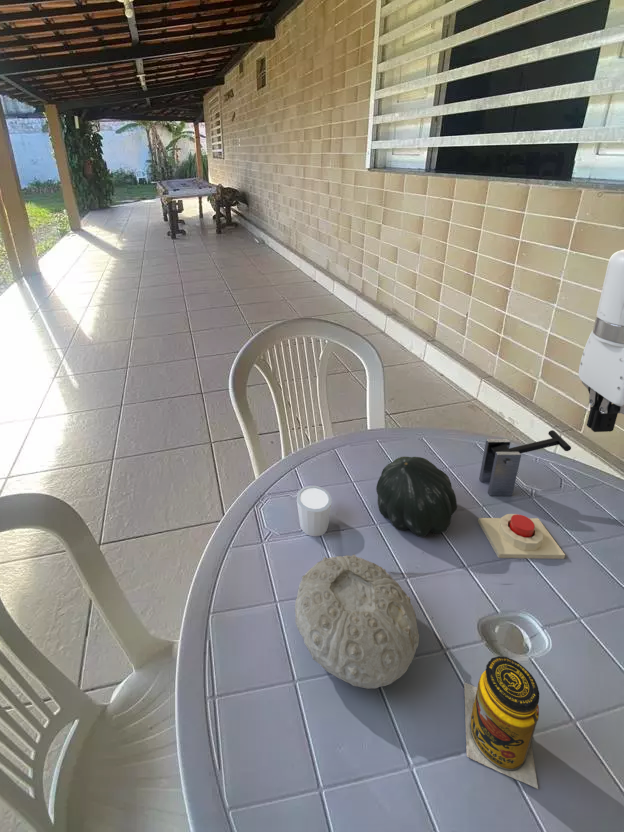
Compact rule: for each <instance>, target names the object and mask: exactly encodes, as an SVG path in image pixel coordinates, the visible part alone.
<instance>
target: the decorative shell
mask: <svg viewBox="0 0 624 832" xmlns="http://www.w3.org/2000/svg"><path fill="white" fill-rule="evenodd" d="M411 599H412V598H411V597H410V596H408V595H407V593H406V592H405V590H404V589H403V588H402V587H401V585H400V584H399V582H397V581H396V580H395V579H394V578H393V577H392V576H391V575H390V574H389V573H388V572H387V571H386V569H385V568H383V567H382V566H379V565H378V564H376V563H375V562H371V561H369V560H367V559H364V558H362V557H358V556H357V555H356V554H352V555H343V556H342V555H338V556H335V557H334V556H331V557H326V556H324V557H323V558H322V560H320V561H317V562H316V564H314V565H313V566H312V567H311V568H309V570H308V571H307V572H305V574H304V575H303V576H302V577H301V581H300V583H299V586H298V589H297V596H296V599H295V603H294V613H295V619H294V622H295V626H296V628H297V630H298V632H299V634H300V635H301V637H302V639H303V643H304V645H305V646H306V648H307V650H308V652H309V655H310V656H311V657H312V660H313V661H314V662H316V663H318V665H320V666H321V667H322V668H323V669H324V670H325V671H326V672H327V673H329V674H330V675H332V676H334V677H336V678H338V679H340V680H342V681H343V682H345V683H347V684H350V685H351V686H353V687H357V688H364V689H367V690H369V689H373V690H374V689H378V688H381V687H386V686H389V685H392V684H393V683H394V682H396V681H397V680H399V679H400V678H401V677H403V676H404V675H405V673H406V672H407V671H408V670H409V667H410V665H411V664H412V662H413V660H414V658H415V655H416V651H417V649H418V647H419V643H420V634H419V630H418V624H417V616H416V611H415V608H414V606H413V603H412V602H411Z"/></svg>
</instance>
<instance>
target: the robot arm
mask: <svg viewBox="0 0 624 832" xmlns="http://www.w3.org/2000/svg"><path fill="white" fill-rule="evenodd" d="M594 318H595V319H594V322H593V323H594V324H593V327H592V330H591V331H590V334H589V336H588V338H587V340H586V343H585V345H584V348H583V351H582V355H581V358H580V362H579V367H578V378H579V379H580V381H581V383H582V385H583V386H584V387H585V388H586V389H587V391H588V395H589V397H588V398H589V399H588V403H589V405H590V411H589V414H588V416H587V422H586V426H587V427H588V428H589V429H591V431H592V432H594V433H606V432H607V433H608V432H613V431H614V429H615V425H616V422H617V418H618V414H621V415H624V249H621V250H618V251H615V252H614V253H613V254H612V255H611V256H610V257H609V259H608V263H607V266H606V271H605V275H604V280H603V284H602V287H601V293H600V297H599V301H598V306H597V311H596V315H595V317H594Z"/></svg>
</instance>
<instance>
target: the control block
mask: <svg viewBox="0 0 624 832" xmlns="http://www.w3.org/2000/svg"><path fill="white" fill-rule="evenodd" d="M517 514H518V513H506V514H504V515H503V516H501V517H478V520H477V523H478V525H479V526H480V528H481V529H482V532H483V533H484V535H485V537H486V538H487V540H488V542H489V544H490V545H491V547H492V550H493V551H494V552H495V555H496V556H497V558H498V559H541V560H544V559H547V560H548V559H549V560H550V559H553V560H564V559H565V558H566V554H565V553H564V551H563V550H562V549H561V547H560V546H559V544H558V542H556V540H555V539H554V538H553V536H552V535H551V533H550V532H549V531H548V528H546V526H545V525H544V524H543V523H542V521H541V520H540V519H539V518H538V517H536V518H535V517H534V518H533V517H528V518H529V519H530V520H532V522H533V523H534V525H535V528H534V532H533V535H532V536H531V537H528V538H525V537H521V536H519V535H517V534H515V533H514V532H513V531H512V530H511V529H510V521H511V517H512V516H513V515H517Z"/></svg>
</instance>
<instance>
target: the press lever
mask: <svg viewBox="0 0 624 832" xmlns="http://www.w3.org/2000/svg"><path fill="white" fill-rule="evenodd" d="M547 434H548V436H549V437H550V438H547V439H543V440H539V441H535V442H531V443H530V442H529V443H526V444H522V445H518V446H514V447H509V448H508V447H507V446H506V445H501V446H496V447H492V448H491V449H492V454H493V457H494V458H495V453H496V452H519V453H520V454H521V455H522V454H524V453H529V452H533V451H538V450H542V449H546V448H550V447H555V446H559V447H560V448H561V449H562V450H563V451H564V452H570V451H571V450H572V446H571V445H570V444H569V443H567V441H566V440H565V439H564V438H563V437H562V436H561V435H560V434H559V433H558V432H556V431H555V430H553V429H552V430H549V431H548V433H547Z"/></svg>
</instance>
